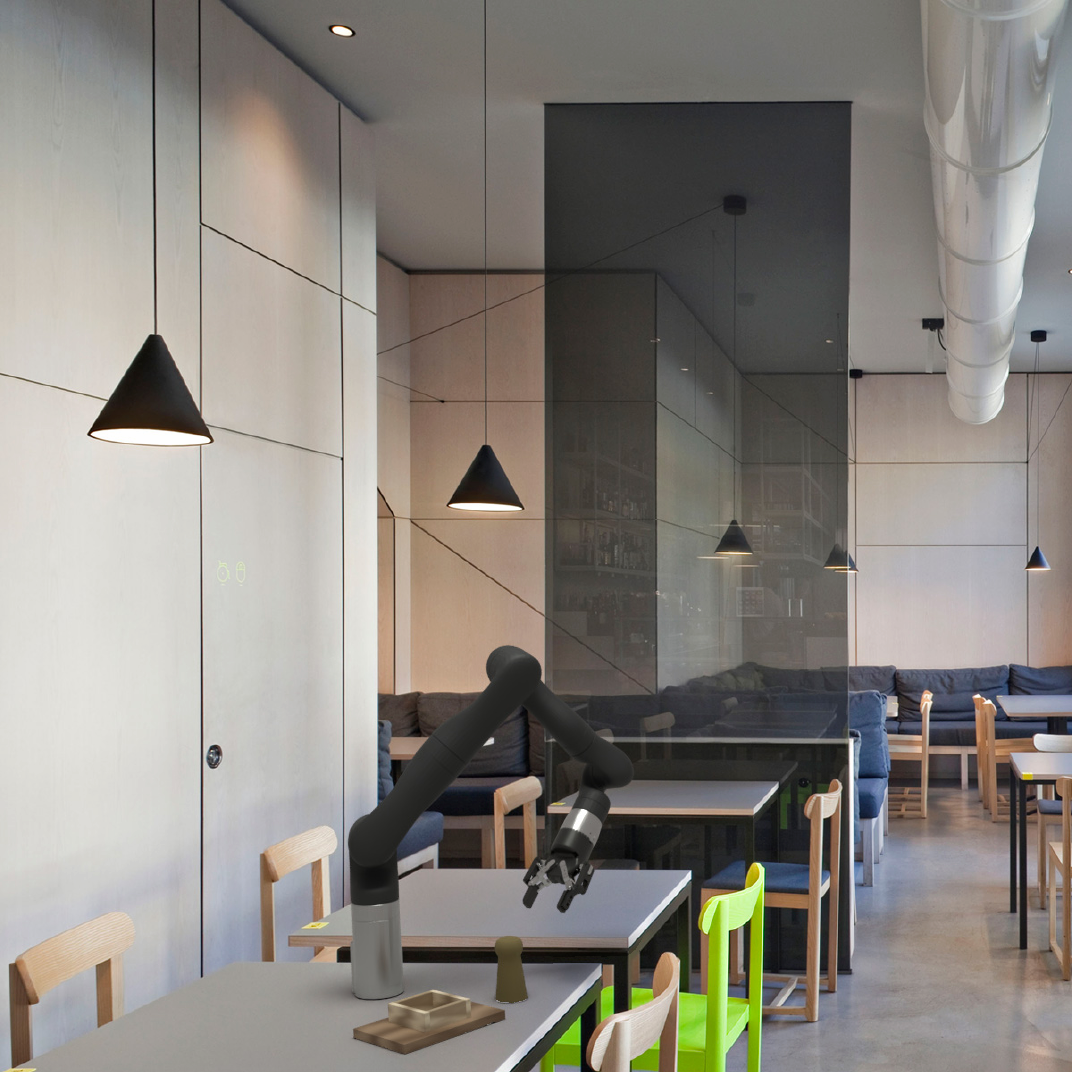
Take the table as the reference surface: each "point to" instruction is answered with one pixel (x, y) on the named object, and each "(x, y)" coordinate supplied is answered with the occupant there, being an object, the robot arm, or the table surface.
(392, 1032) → the collar board
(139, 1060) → the table surface
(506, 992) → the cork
